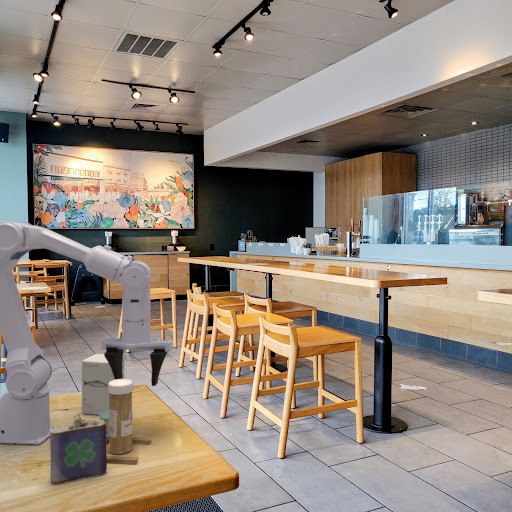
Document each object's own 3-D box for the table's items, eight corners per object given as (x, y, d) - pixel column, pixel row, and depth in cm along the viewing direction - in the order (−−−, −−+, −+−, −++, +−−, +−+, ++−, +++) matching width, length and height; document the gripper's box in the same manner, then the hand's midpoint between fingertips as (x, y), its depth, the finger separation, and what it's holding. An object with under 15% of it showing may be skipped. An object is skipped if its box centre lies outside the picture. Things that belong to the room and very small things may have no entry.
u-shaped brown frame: (84, 462, 91) (84, 457, 91) (104, 440, 101) (104, 436, 101) (135, 464, 90) (135, 460, 90) (151, 442, 100) (151, 438, 100)
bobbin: (96, 438, 101) (95, 417, 101) (104, 429, 106) (104, 409, 106) (118, 439, 101) (117, 418, 101) (125, 430, 105) (125, 409, 105)
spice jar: (133, 453, 95) (133, 384, 94) (108, 456, 93) (108, 385, 93) (132, 443, 99) (132, 377, 98) (108, 446, 98) (108, 378, 97)
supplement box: (80, 414, 115) (80, 360, 114) (97, 403, 122) (97, 352, 121) (110, 417, 113) (109, 362, 112) (125, 406, 120) (125, 354, 120)
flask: (51, 486, 82) (50, 423, 82) (49, 478, 85) (49, 417, 85) (108, 474, 87) (107, 414, 86) (105, 467, 89) (104, 408, 89)
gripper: (94, 322, 100) (95, 388, 100) (165, 323, 99) (165, 391, 99) (108, 316, 107) (108, 378, 108) (174, 317, 106) (174, 380, 106)
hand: (136, 383), depth 104 cm, fingers open, 7 cm apart
